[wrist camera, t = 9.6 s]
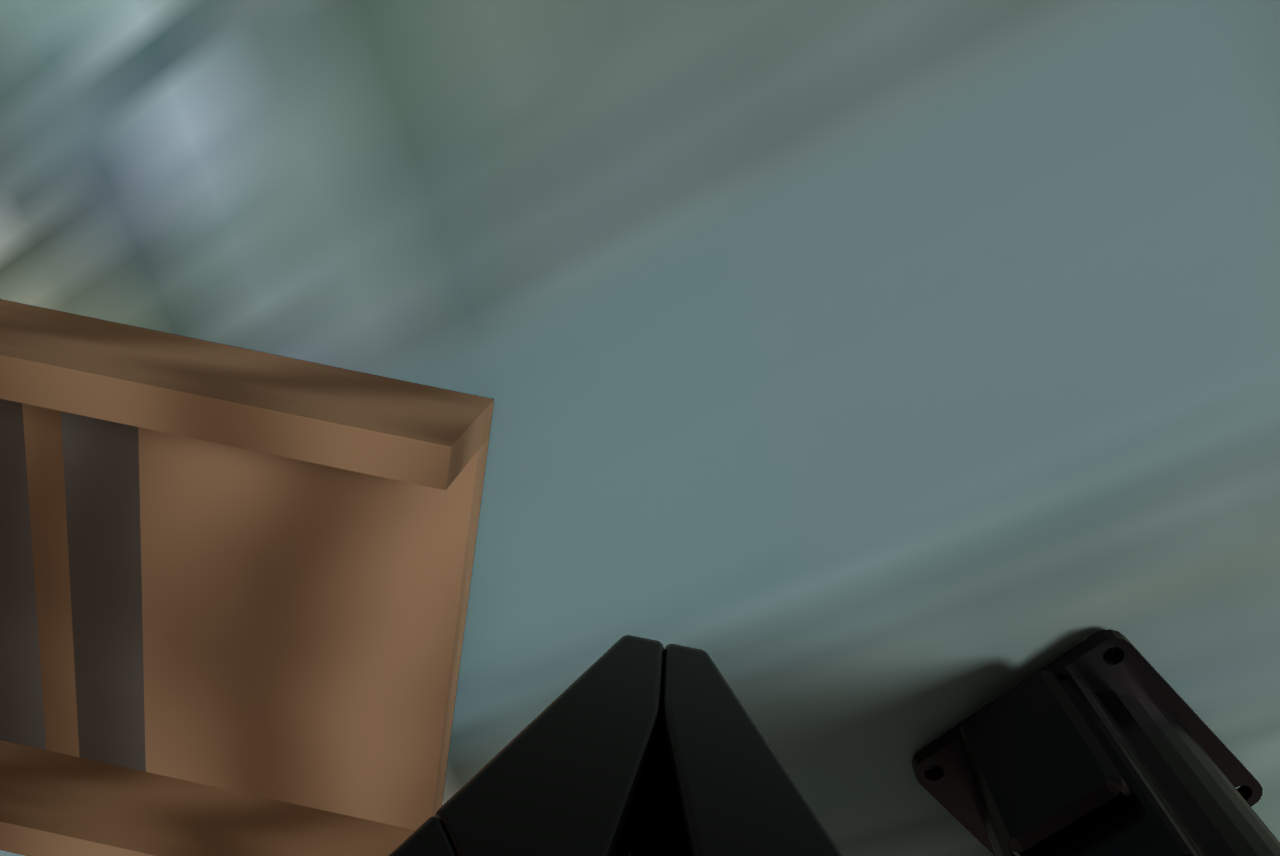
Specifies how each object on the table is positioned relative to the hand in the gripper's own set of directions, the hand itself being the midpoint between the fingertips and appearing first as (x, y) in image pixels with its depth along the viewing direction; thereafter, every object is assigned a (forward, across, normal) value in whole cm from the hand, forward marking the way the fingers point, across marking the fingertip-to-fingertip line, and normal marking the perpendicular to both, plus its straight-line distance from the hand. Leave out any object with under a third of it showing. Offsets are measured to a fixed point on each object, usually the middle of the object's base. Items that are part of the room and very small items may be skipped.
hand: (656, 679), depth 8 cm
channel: (+12, +16, +8) cm, 22 cm away
